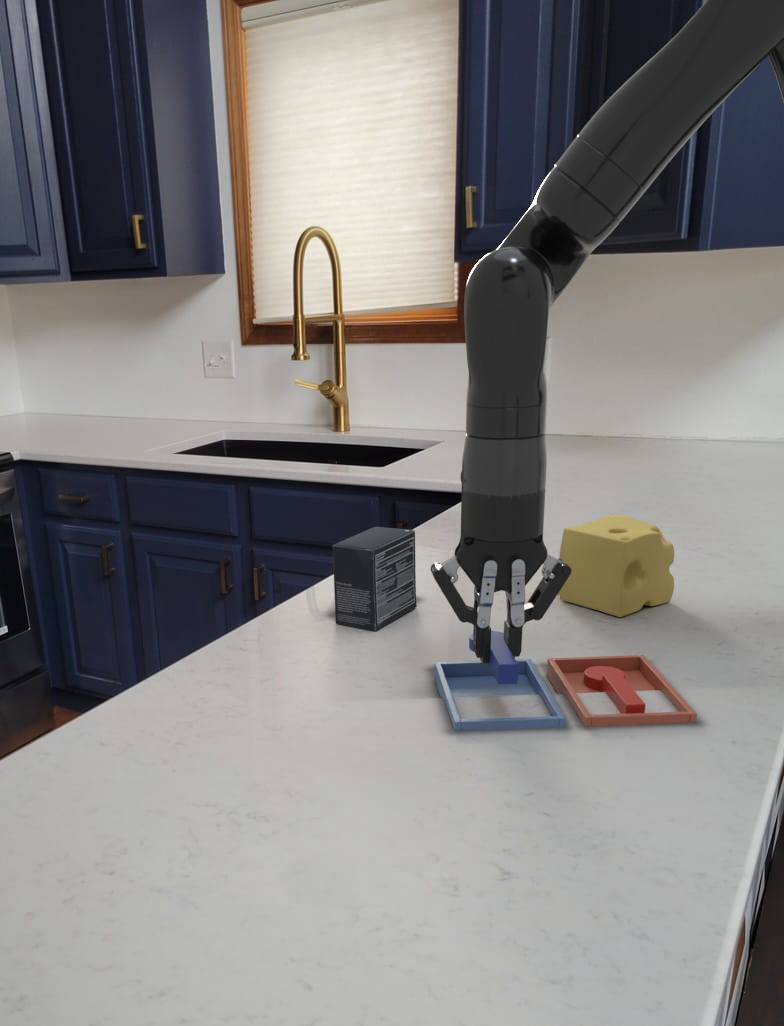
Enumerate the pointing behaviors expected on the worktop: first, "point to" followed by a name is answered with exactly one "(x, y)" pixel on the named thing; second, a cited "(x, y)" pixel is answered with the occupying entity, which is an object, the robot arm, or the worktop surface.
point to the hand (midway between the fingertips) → (496, 659)
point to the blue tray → (493, 694)
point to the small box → (374, 577)
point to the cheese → (617, 565)
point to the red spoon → (614, 688)
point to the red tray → (637, 674)
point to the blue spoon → (500, 659)
